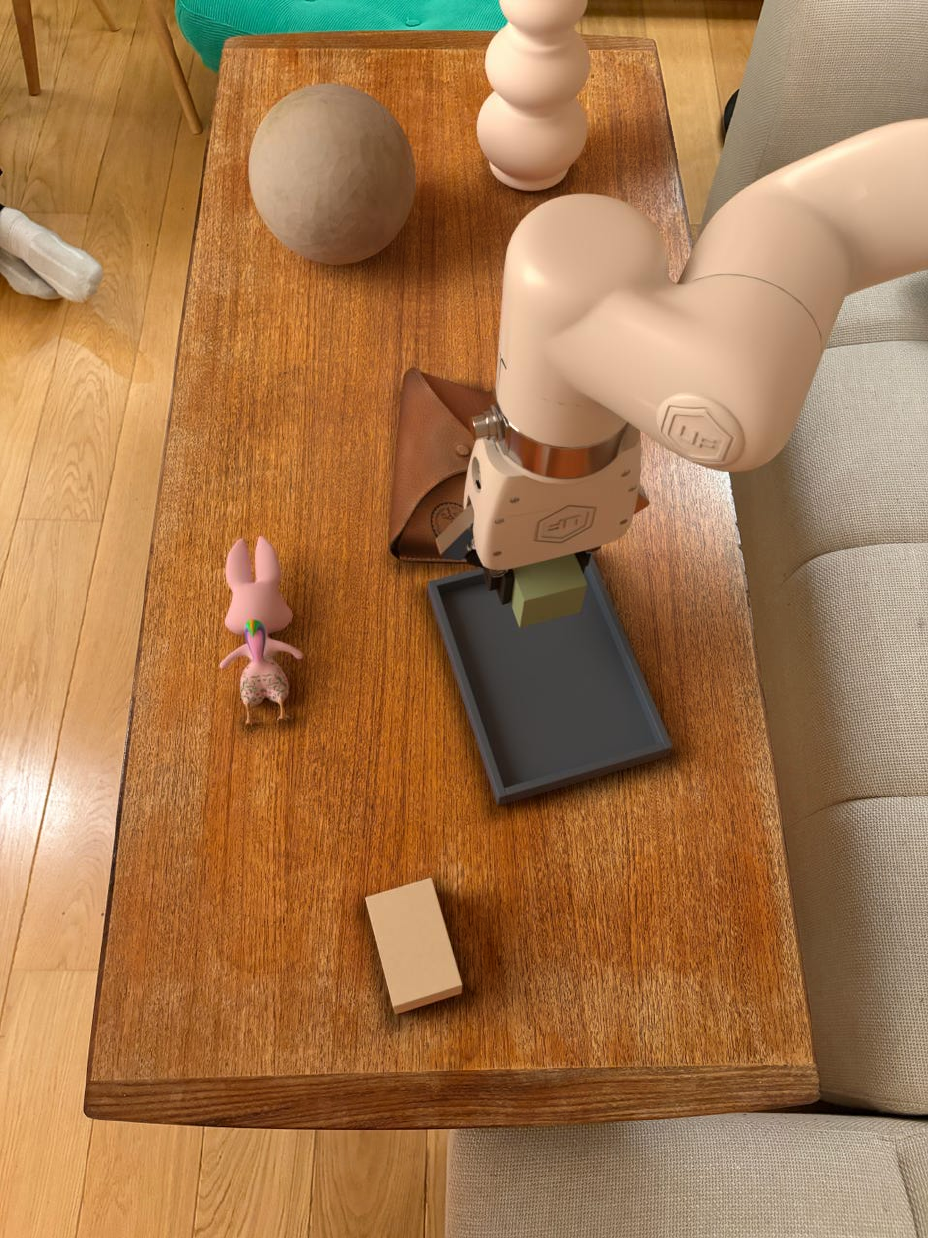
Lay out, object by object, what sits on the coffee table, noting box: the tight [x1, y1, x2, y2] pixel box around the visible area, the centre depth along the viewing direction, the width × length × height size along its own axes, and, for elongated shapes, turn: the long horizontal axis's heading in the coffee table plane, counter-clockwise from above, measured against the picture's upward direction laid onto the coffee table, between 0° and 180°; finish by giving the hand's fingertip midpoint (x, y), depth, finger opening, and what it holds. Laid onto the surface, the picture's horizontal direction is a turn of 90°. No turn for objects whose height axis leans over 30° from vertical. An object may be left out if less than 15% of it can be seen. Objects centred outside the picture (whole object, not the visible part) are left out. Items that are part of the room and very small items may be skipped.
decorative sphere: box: [248, 83, 417, 266], centre depth 91 cm, size 15×15×15 cm
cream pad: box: [365, 877, 463, 1015], centre depth 66 cm, size 4×7×4 cm, turn 17°
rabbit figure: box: [219, 535, 304, 726], centre depth 76 cm, size 6×6×15 cm
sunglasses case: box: [388, 366, 492, 564], centre depth 84 cm, size 18×7×7 cm
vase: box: [476, 0, 591, 192], centre depth 92 cm, size 11×11×25 cm
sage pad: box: [510, 553, 587, 628], centre depth 70 cm, size 4×7×4 cm, turn 17°
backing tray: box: [427, 553, 674, 807], centre depth 76 cm, size 13×18×2 cm
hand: (534, 576), depth 71 cm, fingers closed on sage pad, 4 cm apart
